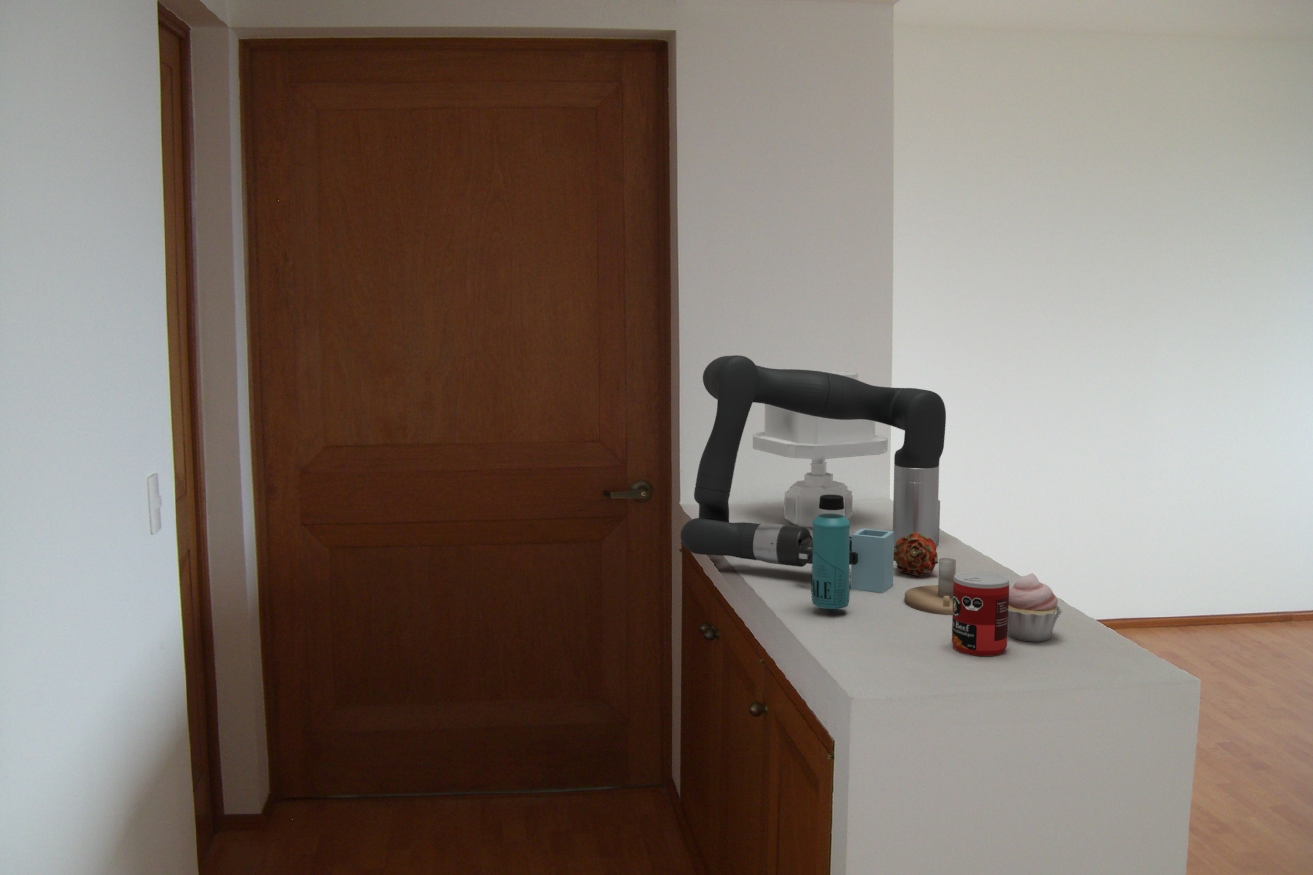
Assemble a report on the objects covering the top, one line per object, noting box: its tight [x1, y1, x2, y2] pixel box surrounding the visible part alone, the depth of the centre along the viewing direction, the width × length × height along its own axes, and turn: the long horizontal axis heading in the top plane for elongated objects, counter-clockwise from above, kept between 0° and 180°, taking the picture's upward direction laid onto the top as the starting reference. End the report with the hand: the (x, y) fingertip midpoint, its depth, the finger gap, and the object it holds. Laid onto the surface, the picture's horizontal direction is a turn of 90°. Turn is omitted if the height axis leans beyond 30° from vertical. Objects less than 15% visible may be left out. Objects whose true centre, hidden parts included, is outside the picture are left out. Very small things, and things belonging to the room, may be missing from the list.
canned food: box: [951, 570, 1010, 657], centre depth 160 cm, size 8×8×11 cm
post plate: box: [904, 557, 957, 616], centre depth 184 cm, size 14×14×8 cm
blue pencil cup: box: [850, 528, 895, 594], centre depth 195 cm, size 6×6×10 cm
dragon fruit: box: [893, 532, 939, 577], centre depth 205 cm, size 8×8×12 cm
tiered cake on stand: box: [752, 370, 889, 528], centre depth 249 cm, size 27×27×35 cm
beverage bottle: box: [810, 495, 851, 610], centre depth 179 cm, size 6×7×20 cm
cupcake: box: [1007, 572, 1063, 643], centre depth 166 cm, size 9×9×10 cm
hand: (864, 553), depth 195 cm, fingers open, 8 cm apart
